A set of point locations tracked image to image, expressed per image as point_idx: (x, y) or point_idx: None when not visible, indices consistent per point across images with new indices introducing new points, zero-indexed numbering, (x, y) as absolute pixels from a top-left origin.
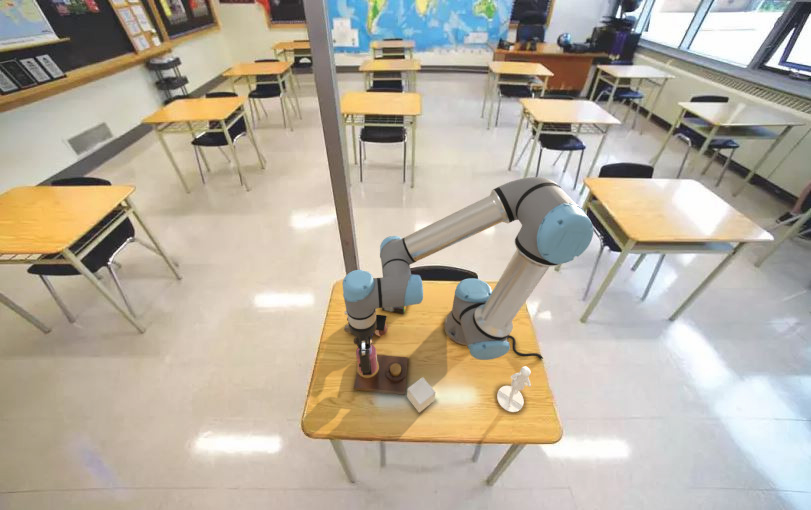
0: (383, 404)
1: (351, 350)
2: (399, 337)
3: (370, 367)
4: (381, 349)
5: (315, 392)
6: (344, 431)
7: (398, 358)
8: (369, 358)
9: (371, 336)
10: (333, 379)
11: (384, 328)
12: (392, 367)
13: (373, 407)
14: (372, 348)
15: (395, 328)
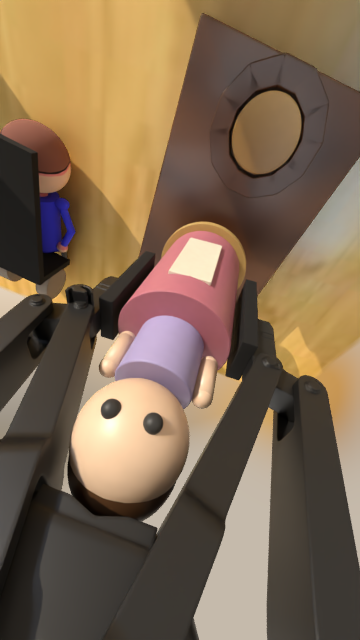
0: (349, 230)
1: None
2: (72, 50)
3: (256, 321)
4: (128, 174)
5: None
6: (344, 350)
7: (192, 94)
8: (260, 408)
9: (76, 295)
10: None
11: (29, 139)
12: (250, 156)
13: (334, 266)
14: (159, 307)
15: (26, 64)
